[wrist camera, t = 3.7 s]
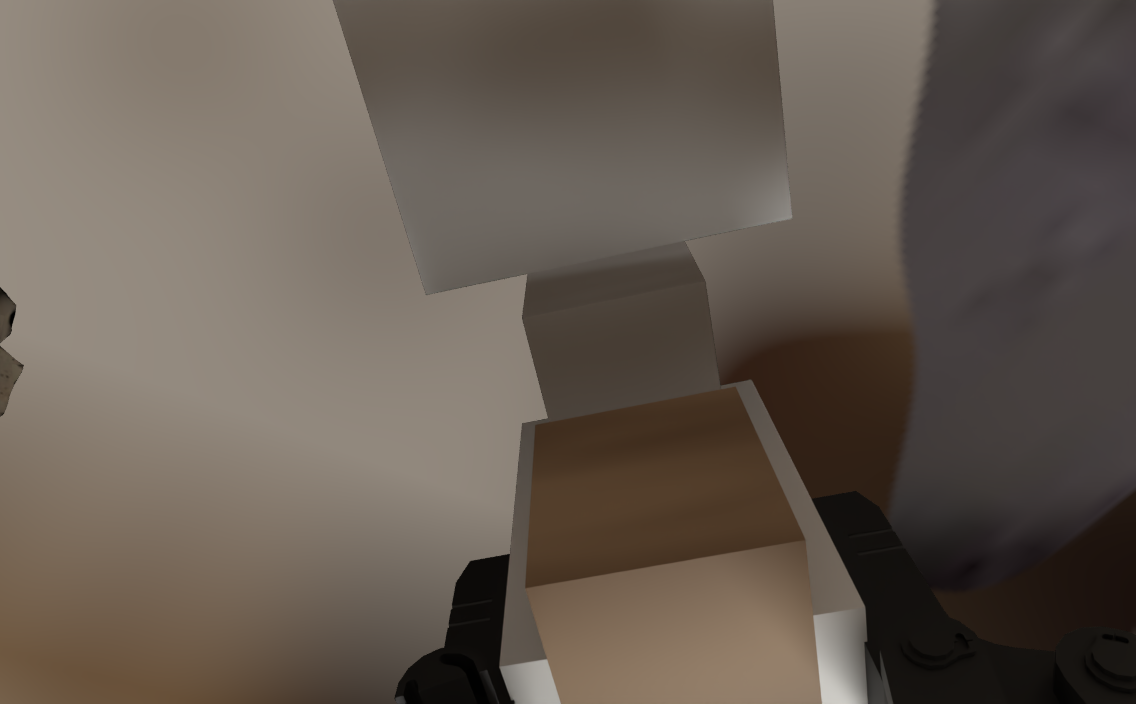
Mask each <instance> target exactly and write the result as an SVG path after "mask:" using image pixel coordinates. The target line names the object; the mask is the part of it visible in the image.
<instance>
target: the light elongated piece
mask: <svg viewBox="0 0 1136 704" xmlns="http://www.w3.org/2000/svg"><path fill="white" fill-rule="evenodd" d="M333 2H334V5H335V8H336V12H337V15H338V18H339V21H340V24H341V27H342V31H343V34H344V37H345V40H346V43H347V46H348V50H349V53H350V56H351V59H352V62H353V65H354V68H355V72H356V75H357V78H358V81H359V84H360V88H361V91H362V94H363V97H364V100H365V103H366V106H367V110H368V113H369V116H370V119H371V122H372V125H373V128H374V132H375V135H376V138H377V141H378V145H379V148H380V151H381V154H382V157H383V160H384V163H385V167H386V170H387V173H388V176H389V179H390V182H391V186H392V189H393V192H394V195H395V198H396V201H397V205H398V208H399V211H400V214H401V217H402V220H403V223H404V227H405V230H406V233H407V236H408V239H409V243H410V246H411V249H412V252H413V255H414V258H415V261H416V265H417V268H418V271H419V274H420V277H421V281H422V284H423V287H424V290H425V293H426V295H428V294H433V293H438V292H442V291H447V290H452V289H457V288H462V287H467V286H471V285H476V284H481V283H486V282H491V281H495V280H500V279H505V278H510V277H514V276H519V275H524V274H528V276H527V283H526V291H525V299H524V307H523V315H522V319H523V324H524V327H525V331H526V335H527V339H528V343H529V347H530V350H531V354H532V358H533V362H534V366H535V369H536V373H537V377H538V381H539V385H540V388H541V393H542V396H543V400H544V404H545V408H546V412H547V415H548V419H549V422H548V423H542V424H537V425H535V437H534V453H533V469H532V485H531V500H530V516H529V532H528V548H527V564H526V580H525V590H526V593H527V596H528V600H529V603H530V606H531V609H532V612H533V616H534V619H535V622H536V625H537V629H538V632H539V635H540V638H541V641H542V645H543V648H544V651H545V654H546V657H547V661H548V664H549V667H550V670H551V673H552V677H553V680H554V683H555V686H556V690H557V693H558V696H559V699H560V702H561V704H822V699H821V688H820V678H819V668H818V658H817V648H816V638H815V628H814V618H813V608H812V598H811V588H810V578H809V568H808V558H807V548H806V540H805V537H804V535H803V533H802V531H801V529H800V526H799V524H798V522H797V520H796V518H795V515H794V513H793V511H792V509H791V507H790V505H789V502H788V500H787V498H786V496H785V494H784V491H783V489H782V487H781V485H780V483H779V480H778V478H777V476H776V474H775V472H774V469H773V467H772V465H771V463H770V461H769V459H768V456H767V454H766V452H765V450H764V448H763V445H762V443H761V441H760V439H759V437H758V434H757V432H756V430H755V428H754V426H753V424H752V421H751V419H750V417H749V415H748V413H747V410H746V408H745V406H744V404H743V402H742V399H741V397H740V395H739V393H738V391H737V389H736V387H731V388H726V389H721V386H720V379H719V372H718V365H717V358H716V352H715V344H714V338H713V331H712V324H711V317H710V310H709V304H708V296H707V289H706V282H705V279H704V278H703V275H702V274H701V272H700V270H699V268H698V266H697V264H696V262H695V260H694V258H693V257H692V255H691V252H690V251H689V249H688V247H687V245H686V243H685V241H687V240H692V239H697V238H701V237H706V236H711V235H716V234H721V233H726V232H730V231H735V230H740V229H745V228H750V227H755V226H759V225H764V224H769V223H773V222H778V221H783V220H788V219H792V211H791V199H790V187H789V177H788V166H787V154H786V142H785V133H784V132H785V131H784V120H783V109H782V98H781V86H780V76H779V64H778V53H777V41H776V31H775V20H774V7H773V0H333Z"/></svg>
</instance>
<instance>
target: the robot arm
mask: <svg viewBox="0 0 1136 704" xmlns="http://www.w3.org/2000/svg"><path fill="white" fill-rule="evenodd" d="M731 387H736V389H737V391H738V393H739V395H740V397H741V399H742V402H743V404H744V406H745V408H746V410H747V413H748V415H749V417H750V419H751V421H752V424H753V426H754V428H755V430H756V432H757V434H758V437H759V439H760V441H761V443H762V445H763V448H764V450H765V452H766V454H767V456H768V459H769V461H770V463H771V465H772V467H773V469H774V472H775V474H776V476H777V478H778V480H779V483H780V485H781V487H782V489H783V491H784V494H785V496H786V498H787V500H788V502H789V505H790V507H791V509H792V511H793V513H794V515H795V518H796V520H797V522H798V524H799V526H800V529H801V531H802V533H803V535H804V537H805V540H806V548H807V558H808V568H809V578H810V588H811V598H812V608H813V618H814V628H815V638H816V648H817V658H818V668H819V678H820V688H821V699H822V704H1136V635H1134V634H1132V633H1130V632H1127V631H1123V630H1118V629H1112V628H1107V627H1086V628H1079V629H1077V630H1075V631H1072V632H1070V633H1067V634H1065V635H1064V636H1063V638H1062V639H1061V640H1060V641H1059V643H1058V644H1057V646H1056V650H1055V652H1054V651H1044V650H1034V649H1024V648H1014V647H1009V646H1003V645H998V644H994V643H991V642H988V641H985V640H982V639H979V638H978V637H977V635H976V634H975V633H974V632H973V631H971V630H970V629H969V628H968V627H966V626H965V625H963V624H962V623H961V622H959V621H957V620H955V619H952V618H950V617H949V616H948V615H947V614H946V612H945V611H944V610H943V608H942V607H941V605H940V603H939V602H938V600H937V599H936V597H935V595H934V594H933V592H932V591H931V589H930V587H929V586H928V584H927V583H926V581H925V579H924V578H923V576H922V575H921V573H920V571H919V570H918V568H917V567H916V565H915V563H914V562H913V560H912V559H911V557H910V555H909V554H908V552H907V551H906V549H904V548H903V545H902V543H901V541H900V540H899V538H898V536H897V535H896V533H895V532H893V530H892V527H891V525H890V524H889V522H888V520H887V519H886V517H885V516H884V514H883V513H882V511H881V509H880V508H879V506H877V505H875V504H874V503H873V502H871V501H870V500H868V499H867V498H865V497H864V496H862V495H861V494H860V493H858V492H857V491H853V492H848V493H842V494H836V495H831V496H826V497H820V498H814V499H811V498H810V496H809V494H808V492H807V490H806V488H805V486H804V484H803V482H802V480H801V478H800V476H799V474H798V472H797V470H796V468H795V466H794V464H793V462H792V460H791V458H790V456H789V454H788V452H787V450H786V448H785V446H784V444H783V442H782V440H781V438H780V436H779V434H778V432H777V430H776V428H775V426H774V424H773V422H772V420H771V418H770V416H769V414H768V412H767V410H766V408H765V406H764V404H763V402H762V400H761V398H760V396H759V394H758V392H757V390H756V388H755V386H754V384H753V382H752V381H751V380H747V381H742V382H736V383H731V384H726V385H721V389H726V388H731ZM548 422H549V419H543V420H538V421H533V422H528V423H522V432H521V441H520V453H519V463H518V474H517V485H516V495H515V505H514V517H513V527H512V537H511V548H510V554H507V555H502V556H496V557H490V558H485V559H480V560H474V561H470V562H469V564H468V565H467V567H466V568H465V570H464V571H463V573H462V575H461V576H460V577H459V579H458V580H457V582H456V586H455V591H454V597H453V602H452V610H451V614H450V619H449V628H448V630H447V635H446V641H445V646H444V648H440V649H438V650H435V651H433V652H432V653H429V654H427V655H425V656H423V657H422V658H420V659H419V660H418V661H417V662H415V663H414V664H413V665H412V666H411V667H410V668H408V670H407V671H406V673H405V674H404V676H403V677H402V679H401V680H400V681H399V683H398V687H397V691H396V695H395V700H396V703H397V704H561V702H560V699H559V696H558V693H557V690H556V686H555V683H554V680H553V677H552V673H551V670H550V667H549V664H548V661H547V657H546V654H545V651H544V648H543V645H542V641H541V638H540V635H539V632H538V629H537V625H536V622H535V619H534V616H533V612H532V609H531V606H530V603H529V600H528V596H527V593H526V590H525V580H526V564H527V548H528V532H529V516H530V500H531V485H532V469H533V453H534V437H535V425H537V424H542V423H548Z"/></svg>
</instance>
